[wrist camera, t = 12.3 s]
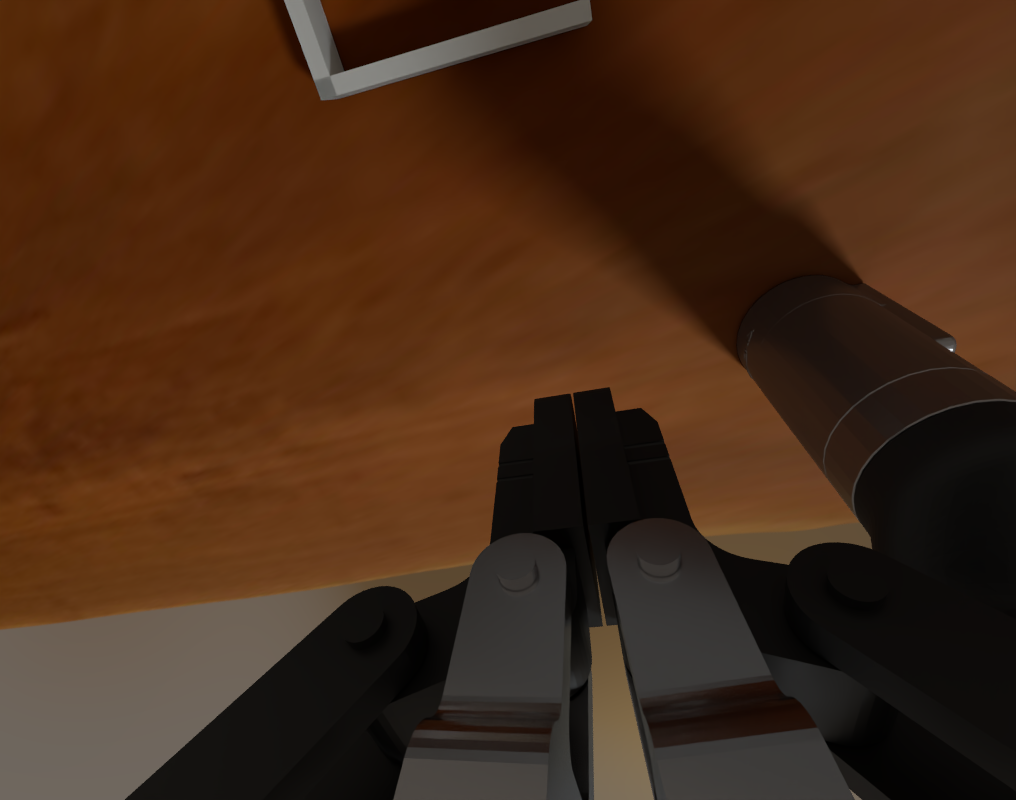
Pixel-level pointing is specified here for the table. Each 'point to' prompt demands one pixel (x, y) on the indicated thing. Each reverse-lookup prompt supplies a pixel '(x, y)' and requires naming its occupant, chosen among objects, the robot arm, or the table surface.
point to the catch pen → (340, 84)
